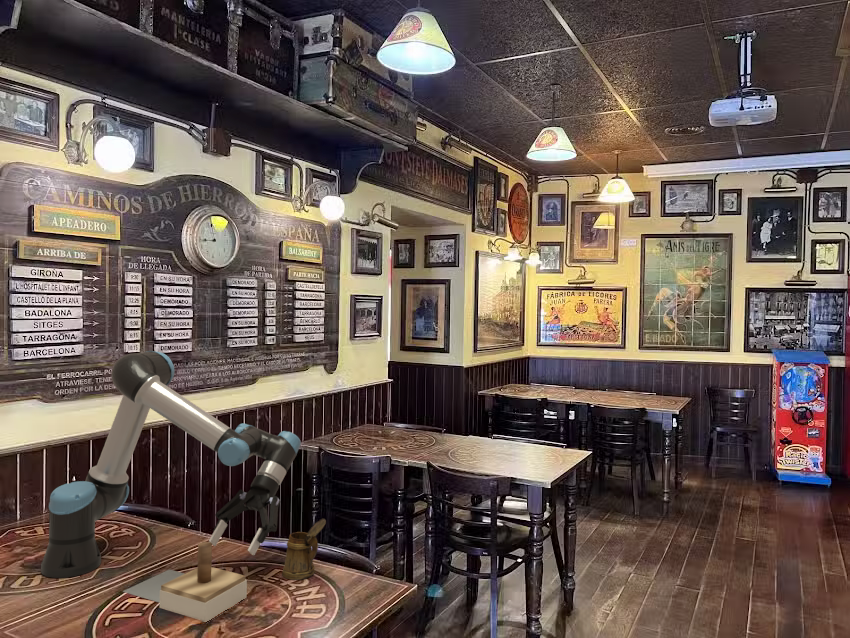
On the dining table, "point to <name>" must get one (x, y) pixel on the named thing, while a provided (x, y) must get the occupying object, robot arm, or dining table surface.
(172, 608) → the wooden box
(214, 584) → the oak cover
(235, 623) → the dining table surface
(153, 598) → the rubber mat
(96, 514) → the robot arm
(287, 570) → the wooden mug
